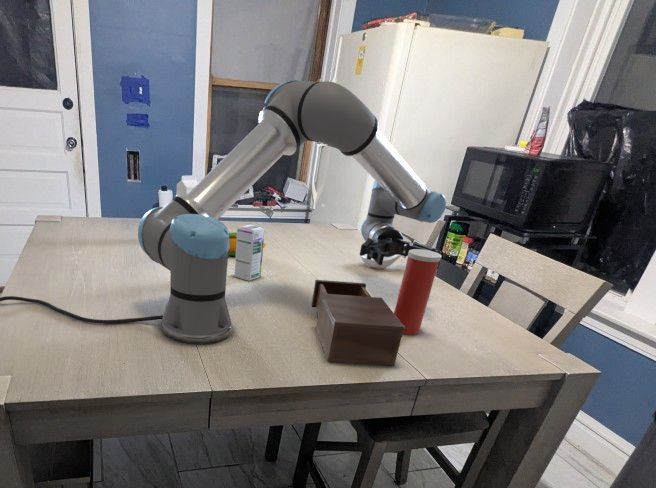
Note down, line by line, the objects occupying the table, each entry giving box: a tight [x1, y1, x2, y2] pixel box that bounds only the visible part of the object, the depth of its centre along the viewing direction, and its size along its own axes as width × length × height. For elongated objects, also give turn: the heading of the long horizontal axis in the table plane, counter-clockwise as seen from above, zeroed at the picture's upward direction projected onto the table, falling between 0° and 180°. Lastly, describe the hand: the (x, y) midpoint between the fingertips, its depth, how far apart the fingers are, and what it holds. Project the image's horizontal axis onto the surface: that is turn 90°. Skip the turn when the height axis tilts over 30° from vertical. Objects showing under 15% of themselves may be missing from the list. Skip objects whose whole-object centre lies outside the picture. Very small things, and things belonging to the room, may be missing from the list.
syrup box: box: [233, 223, 266, 282], centre depth 139 cm, size 6×6×14 cm
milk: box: [176, 174, 199, 196], centre depth 170 cm, size 6×6×22 cm
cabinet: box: [315, 293, 404, 367], centre depth 103 cm, size 17×14×9 cm
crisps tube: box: [393, 249, 442, 336], centre depth 111 cm, size 7×7×18 cm
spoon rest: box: [359, 251, 405, 270], centre depth 162 cm, size 24×12×7 cm, turn 102°
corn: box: [228, 232, 267, 257], centre depth 161 cm, size 7×8×20 cm
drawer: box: [310, 279, 372, 314], centre depth 116 cm, size 20×12×7 cm, turn 0°
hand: (409, 261), depth 115 cm, fingers open, 13 cm apart
